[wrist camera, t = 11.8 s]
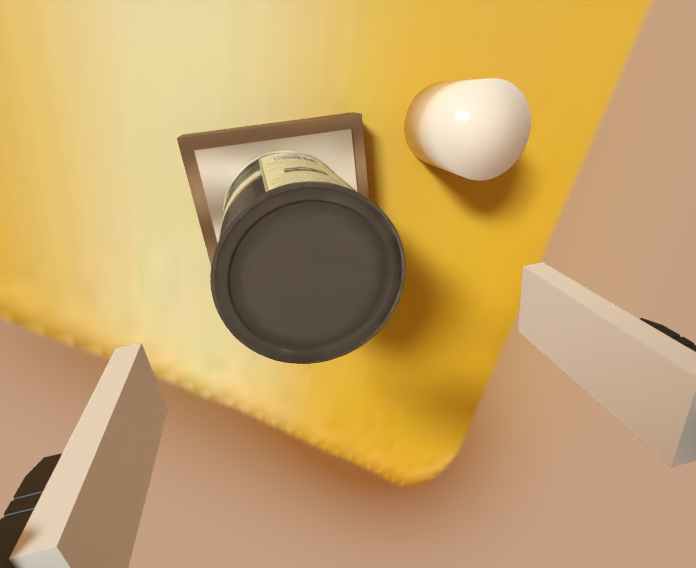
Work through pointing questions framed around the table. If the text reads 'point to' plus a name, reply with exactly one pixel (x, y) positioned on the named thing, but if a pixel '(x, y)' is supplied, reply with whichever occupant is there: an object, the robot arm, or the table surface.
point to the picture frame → (252, 141)
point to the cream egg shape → (469, 126)
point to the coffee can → (303, 261)
